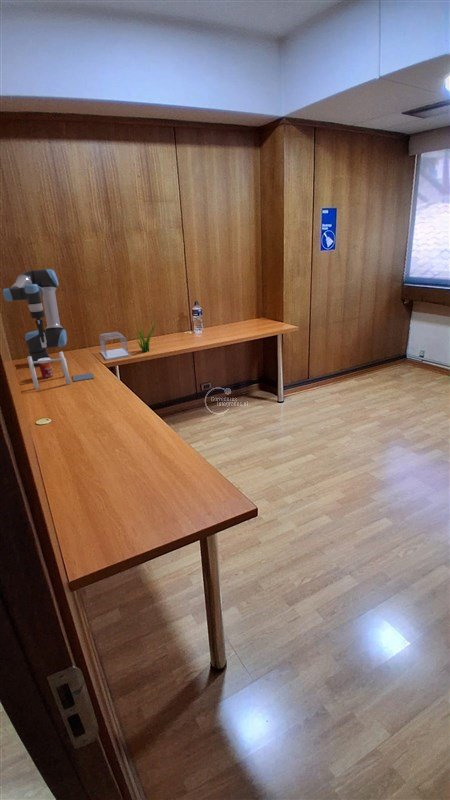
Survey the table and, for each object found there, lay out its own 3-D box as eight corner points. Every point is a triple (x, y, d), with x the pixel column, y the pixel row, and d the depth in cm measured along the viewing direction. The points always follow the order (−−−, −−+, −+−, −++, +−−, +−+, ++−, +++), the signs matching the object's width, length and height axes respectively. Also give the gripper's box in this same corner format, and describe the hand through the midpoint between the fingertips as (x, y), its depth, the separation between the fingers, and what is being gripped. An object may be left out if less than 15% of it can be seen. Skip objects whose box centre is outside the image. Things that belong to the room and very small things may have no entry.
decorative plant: (155, 320, 285) (135, 315, 282) (148, 355, 302) (129, 350, 299) (158, 310, 300) (139, 305, 297) (151, 344, 316) (132, 339, 313)
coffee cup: (50, 383, 251) (45, 361, 245) (39, 383, 253) (33, 360, 247) (58, 379, 258) (53, 357, 253) (48, 379, 260) (42, 357, 255)
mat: (72, 376, 251) (72, 375, 251) (92, 373, 255) (92, 372, 255) (73, 381, 241) (73, 380, 241) (94, 378, 245) (93, 377, 245)
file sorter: (100, 354, 305) (97, 333, 300) (123, 350, 312) (120, 330, 306) (106, 361, 284) (102, 339, 278) (130, 357, 291) (127, 336, 285)
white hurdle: (33, 381, 247) (27, 356, 242) (69, 375, 255) (64, 351, 249) (31, 390, 230) (25, 364, 224) (70, 384, 237) (65, 358, 231)
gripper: (30, 308, 249) (38, 342, 257) (29, 314, 228) (37, 350, 236) (43, 307, 252) (50, 340, 260) (43, 312, 230) (51, 348, 238)
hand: (44, 345), depth 248 cm, fingers open, 13 cm apart
